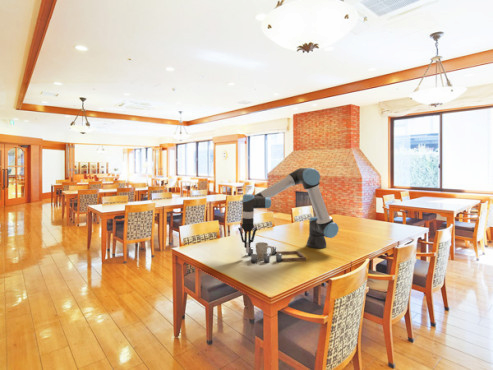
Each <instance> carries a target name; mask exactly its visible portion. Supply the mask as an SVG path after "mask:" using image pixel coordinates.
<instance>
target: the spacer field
mask: <svg viewBox="0 0 493 370" xmlns="http://www.w3.org/2000/svg"><path fill="white" fill-rule="evenodd" d="M272 248H273V253H272V254H271V255H270V253H267V254H264V260H263V263H265V264H267V263H270V262H271V261H270V259H271V258H270V257H271V256H275V262H276V263H282V262H283V261H282V258H283V256H282V255H283V254H281V253H276V252H277V247H276V246H272ZM247 256H248V257H251V258H250V263H251V264H257V262H258V259H257V253H254V248H253V247H251V246H250V248H249V253H247Z"/></svg>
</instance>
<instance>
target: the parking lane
mask: <svg viewBox="0 0 493 370" xmlns="http://www.w3.org/2000/svg"><path fill="white" fill-rule="evenodd" d="M276 253H281V254H282V255H297V256H298V257H282V262H301V261H304V262H305V261H306V260H307V257H306V256H305V255H303V253H301V251H299V250H286V251H285V250H284V251H281V250H280V251H278V250H277V251H276Z"/></svg>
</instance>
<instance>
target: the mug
mask: <svg viewBox="0 0 493 370" xmlns="http://www.w3.org/2000/svg"><path fill="white" fill-rule="evenodd" d="M272 247H273V246H272V245H269V244H268V242H265V241H264V242H263V241H262V242H261V241H259V242H256V243H255V251H256V253H255V254H256V255H257V260H260V261H264V254H268V249H270V253H269V254H270V256H272V255H271V254H272V253H273V248H272Z"/></svg>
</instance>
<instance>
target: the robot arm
mask: <svg viewBox="0 0 493 370" xmlns="http://www.w3.org/2000/svg"><path fill="white" fill-rule="evenodd" d="M320 179H321V174H320V172H319V171H318V169H316V168H313V167H301V168H298V169H296V170H294V171H292V172H291V173H288V174H287V175H286V176H285V177H284V178H282V179H281V180H279V181H277V182H276V183H274V184H272V185H270V186H268V187H267V188H264V189H263V190H261V191H260V192H258V193H256V194H251V193H246V194H243V195H242V216H241V217H242V221H241V225H240V226H239V227H238V232H239V234H240V238H241V243H244V245H243V246H244V248H245V253H246V254H248V253H249V248H250V247H251V244H252V243H253V242H254V240H255V236H256V233H257V231H258V228H257V227H256V226H255V225H254V224H255V223H254V222H255V221H254V217H255V216H254V212H255V210H254V209H270V208H271V206H272V198H274V197H275V196H277V195H278V194H280V193H282V192H284V191H285V190H287V189H289V188H291V187H295V186H296V185H300V184H301V185H302V187H303V189H304V190H306V191H307V194H308V197H309V200H310V202H311V205H312V207H313V210H314V211H313V212H314V213H315V216H310V217H309V221H308V223H309V225H308V226H309V227H308V228H309V229H308V230H309V233H308V237H307V241H306V246H307V247H308V248H312V249H325V248H327V241H326V238H328V239H332V238H335V237H336V236H337V235H338V232H339V230H340V229H339V228H340V227H339V225H338V224H337V222H334V220H333V217H332V216H331V215H329V212H328V209H327V206H326V203H325V201H324V198H323V195H322V193H321V189H320V185H321V183H320V181H321V180H320ZM252 230H253V231H252ZM242 231H244V235H243V232H242ZM251 234H252V235H251ZM247 236H248V237H247ZM247 240H248V241H247Z"/></svg>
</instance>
